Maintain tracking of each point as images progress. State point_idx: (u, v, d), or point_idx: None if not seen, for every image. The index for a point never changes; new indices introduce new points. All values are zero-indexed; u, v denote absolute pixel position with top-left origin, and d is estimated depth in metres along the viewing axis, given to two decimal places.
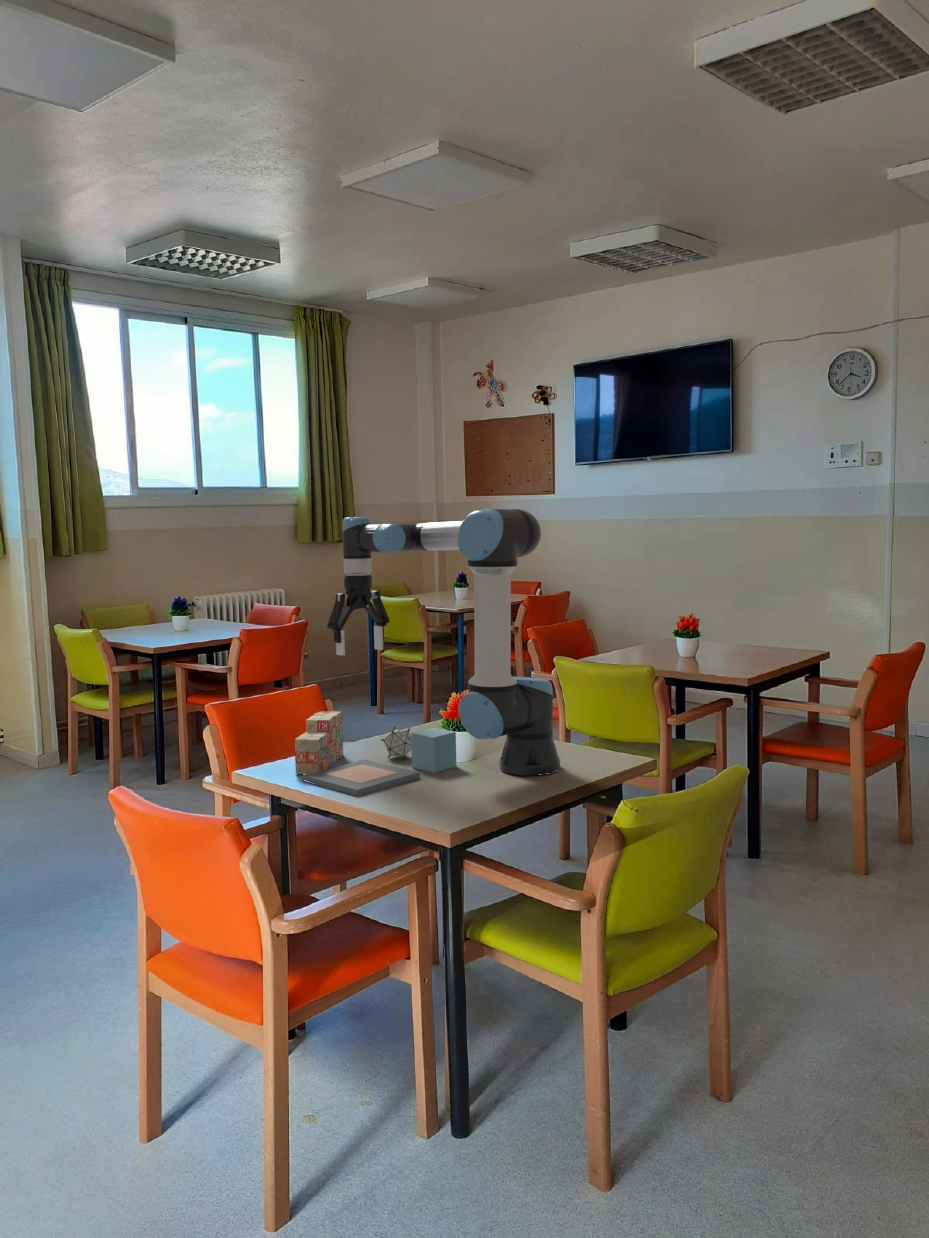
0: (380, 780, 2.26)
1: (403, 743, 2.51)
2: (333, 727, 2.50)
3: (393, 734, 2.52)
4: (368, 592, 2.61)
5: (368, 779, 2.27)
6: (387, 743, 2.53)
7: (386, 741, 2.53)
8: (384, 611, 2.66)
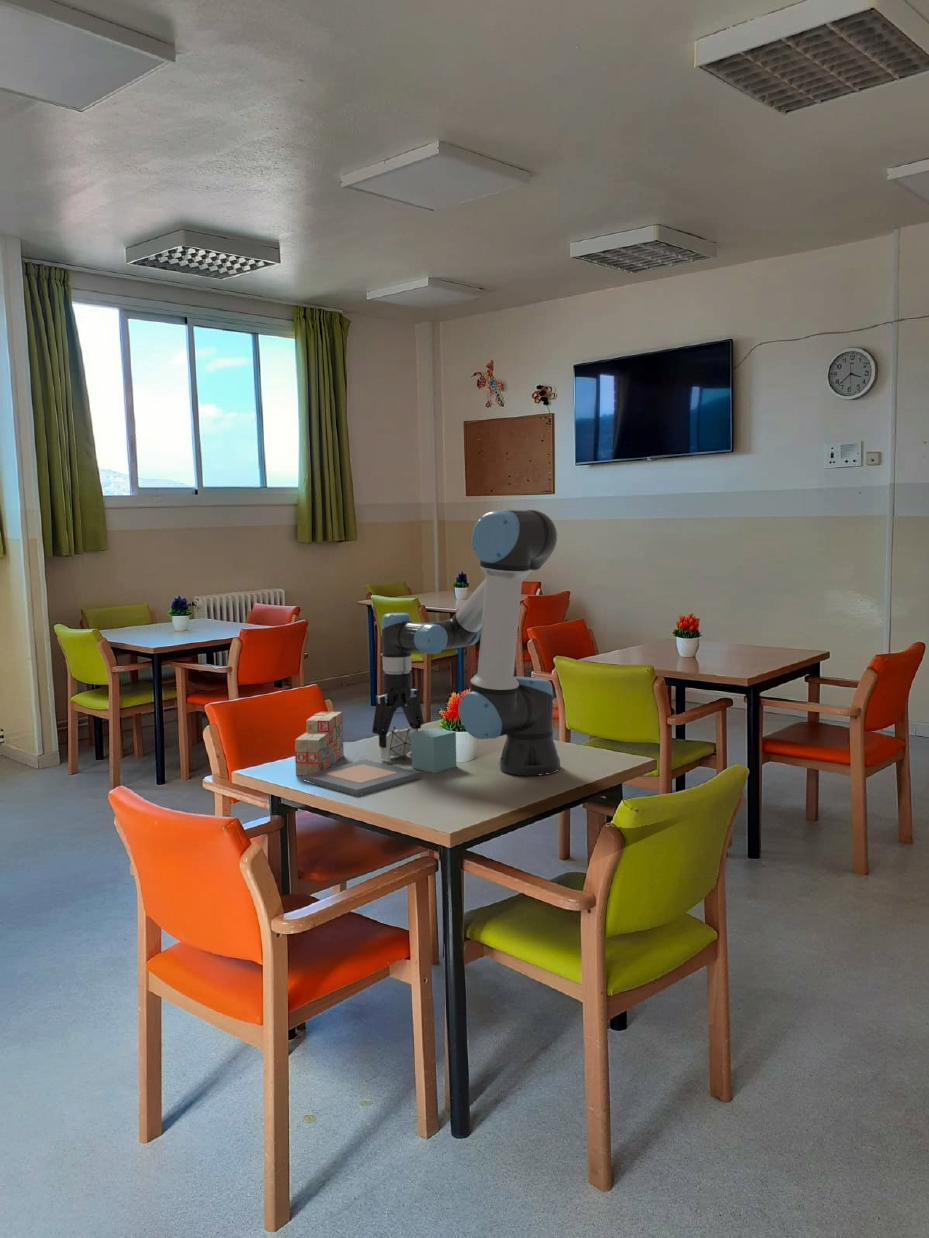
0: (380, 780, 2.26)
1: (403, 743, 2.51)
2: (333, 727, 2.50)
3: (393, 734, 2.52)
4: (408, 689, 2.54)
5: (368, 779, 2.27)
6: None
7: None
8: (420, 712, 2.58)
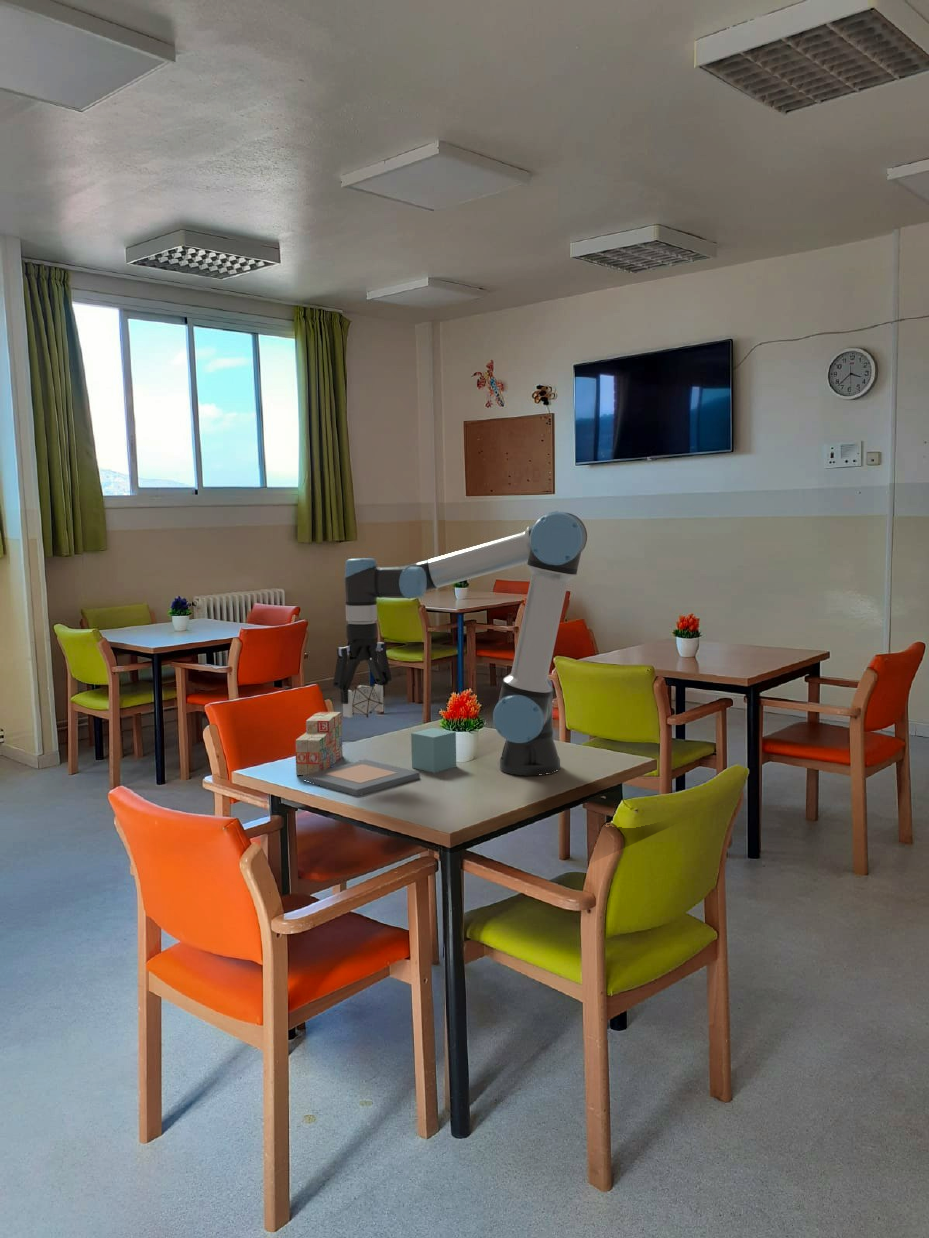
0: (380, 780, 2.26)
1: (366, 699, 2.31)
2: (333, 728, 2.50)
3: (356, 689, 2.32)
4: (373, 641, 2.34)
5: (368, 779, 2.27)
6: None
7: None
8: (387, 667, 2.38)
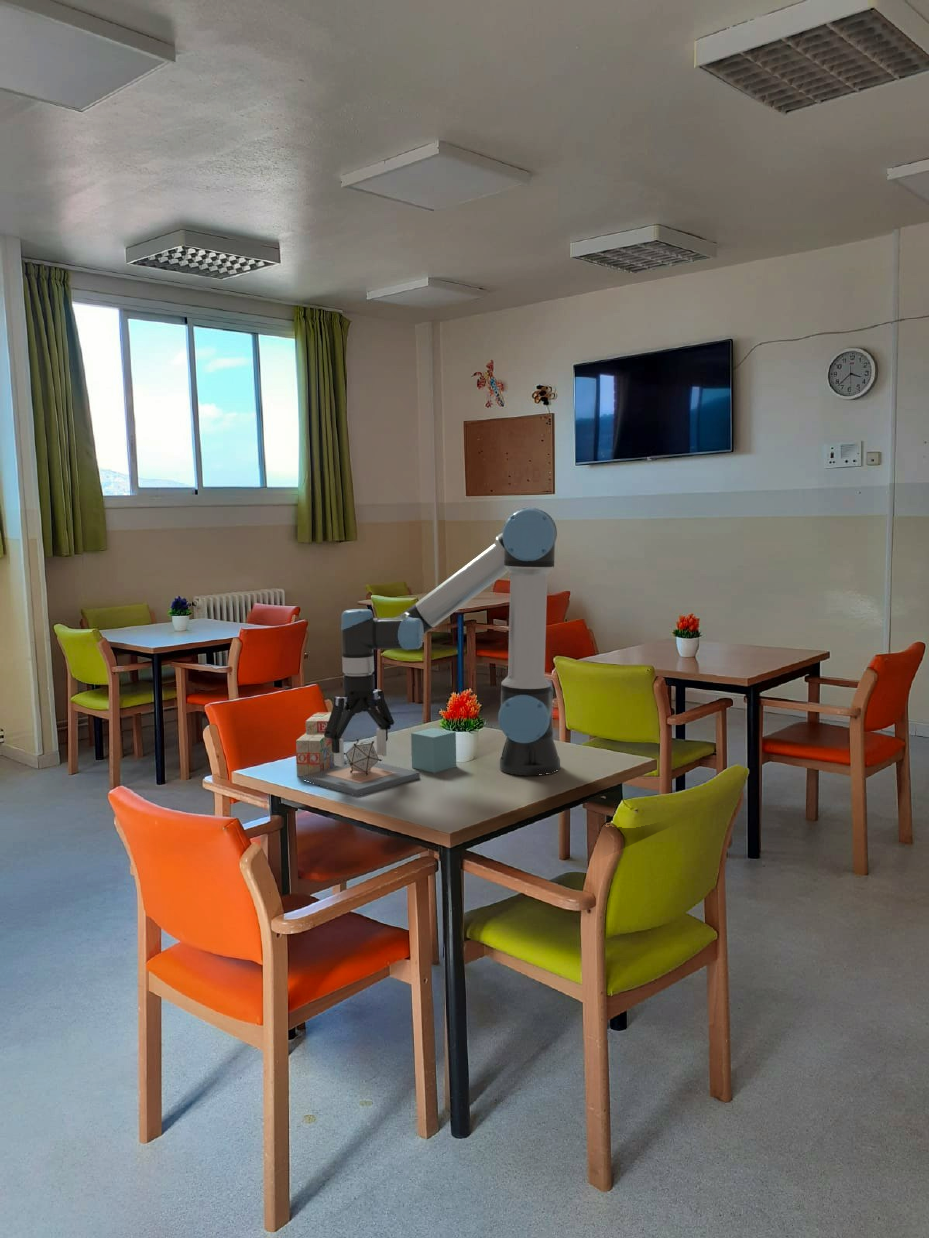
0: (380, 780, 2.26)
1: (366, 757, 2.30)
2: None
3: (355, 747, 2.31)
4: (370, 693, 2.32)
5: (368, 779, 2.27)
6: (349, 757, 2.31)
7: (348, 755, 2.32)
8: (388, 712, 2.37)
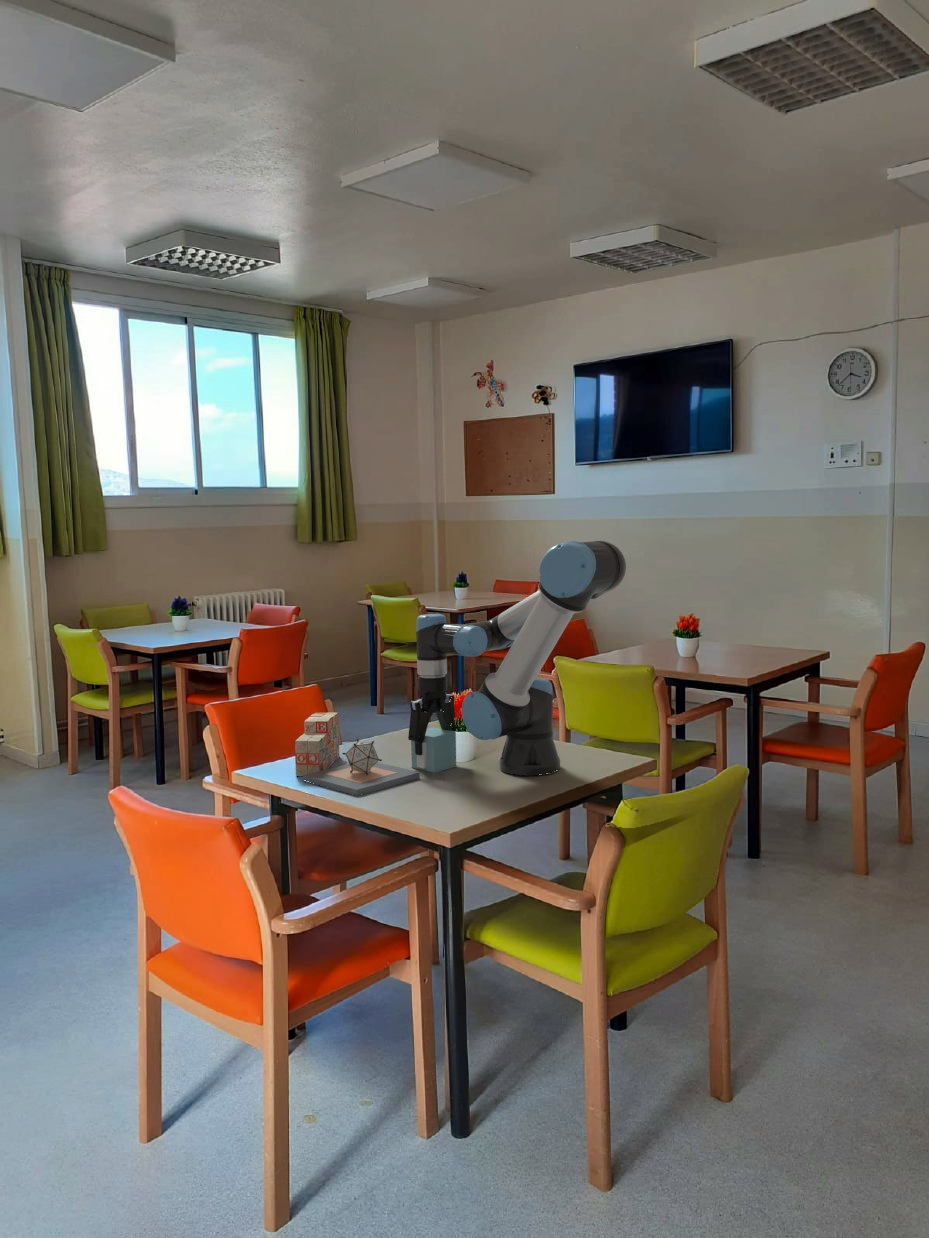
0: (380, 780, 2.26)
1: (366, 757, 2.30)
2: (331, 728, 2.49)
3: (355, 747, 2.31)
4: (443, 693, 2.44)
5: (368, 779, 2.27)
6: (349, 757, 2.31)
7: (348, 755, 2.32)
8: None
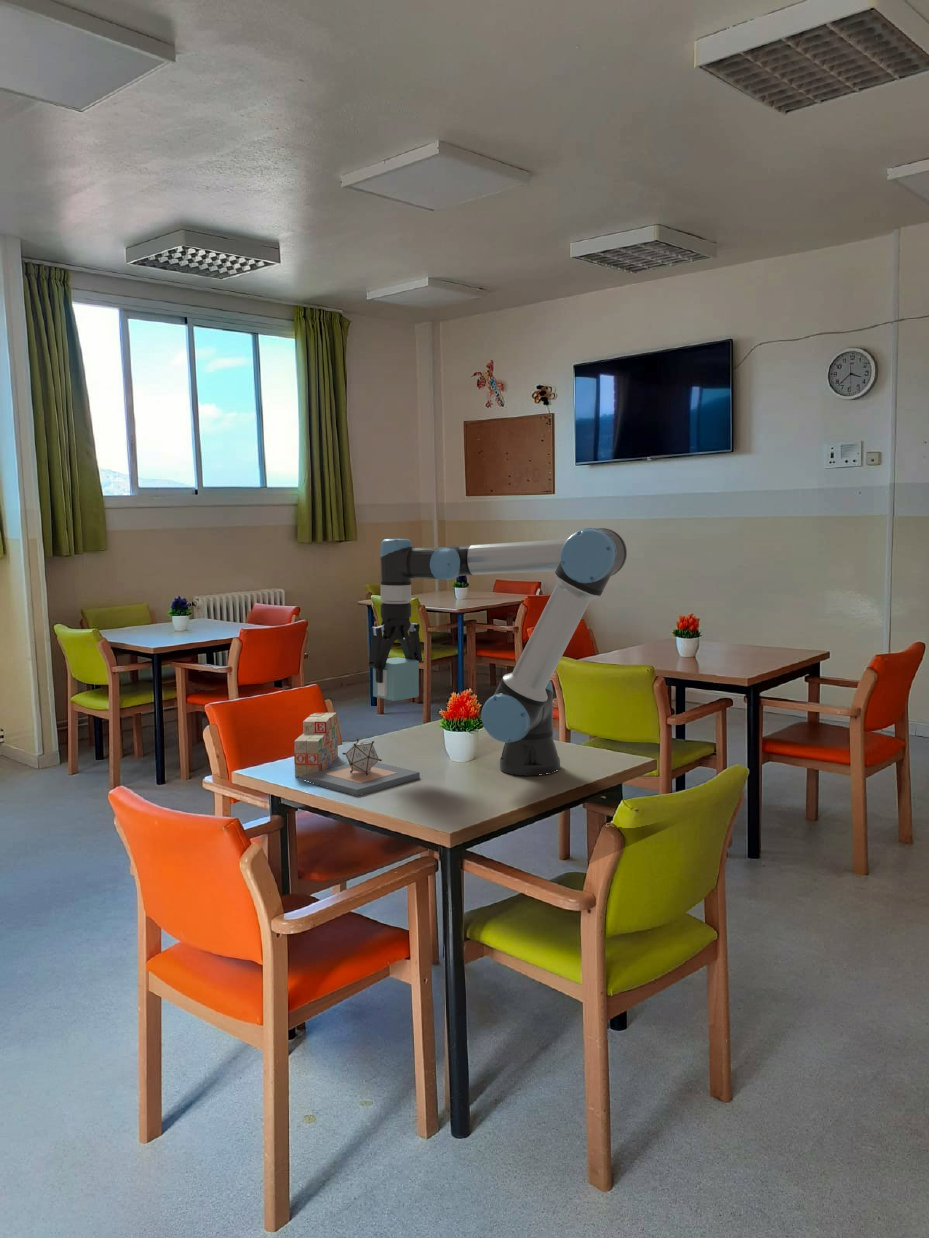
0: (380, 780, 2.26)
1: (366, 757, 2.30)
2: (329, 728, 2.49)
3: (355, 747, 2.31)
4: (407, 621, 2.37)
5: (368, 779, 2.27)
6: (349, 757, 2.31)
7: (348, 755, 2.32)
8: (419, 648, 2.40)
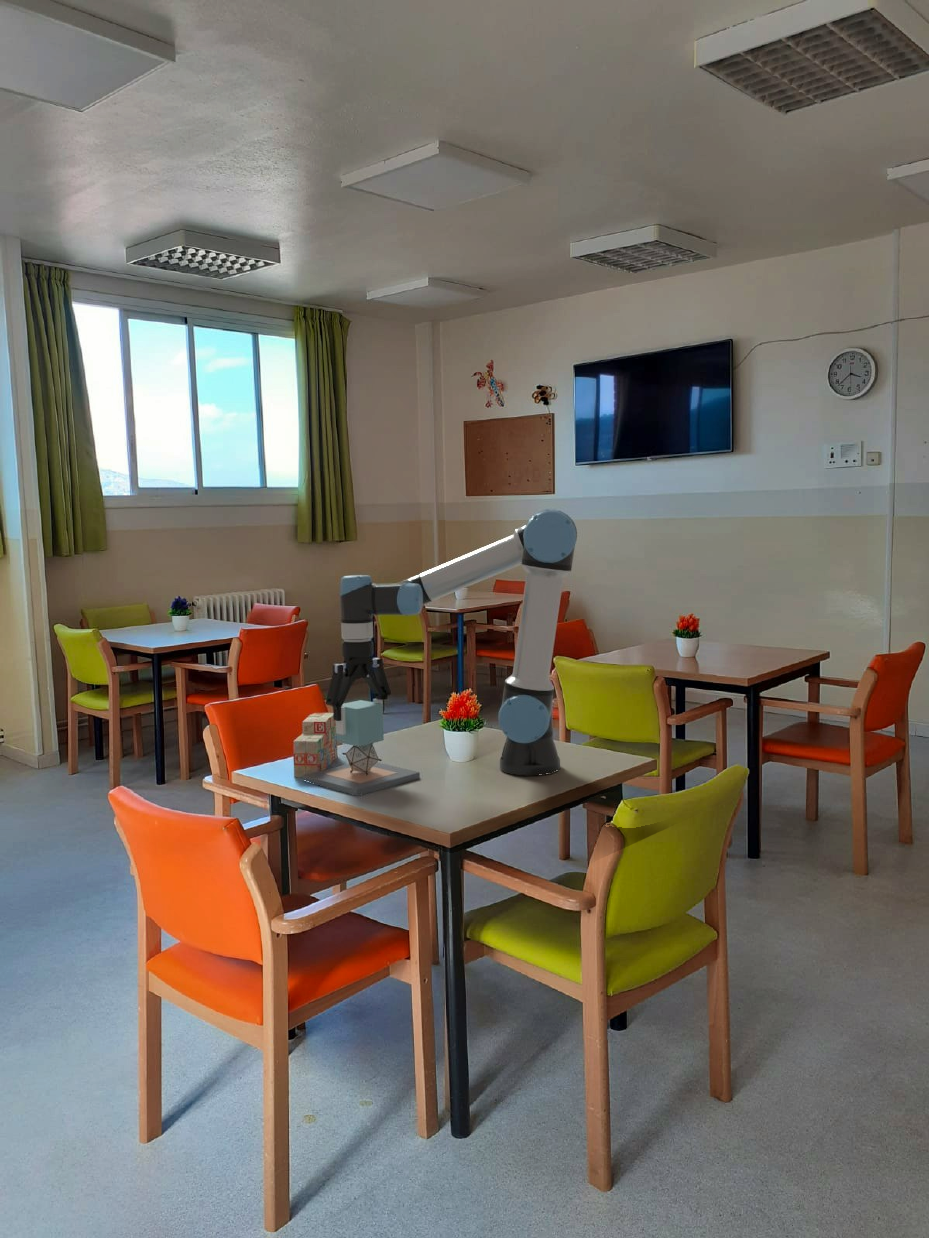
0: (380, 780, 2.26)
1: (366, 757, 2.30)
2: (329, 728, 2.49)
3: (355, 747, 2.31)
4: (369, 659, 2.32)
5: (368, 779, 2.27)
6: (349, 757, 2.31)
7: (348, 755, 2.32)
8: (385, 682, 2.36)
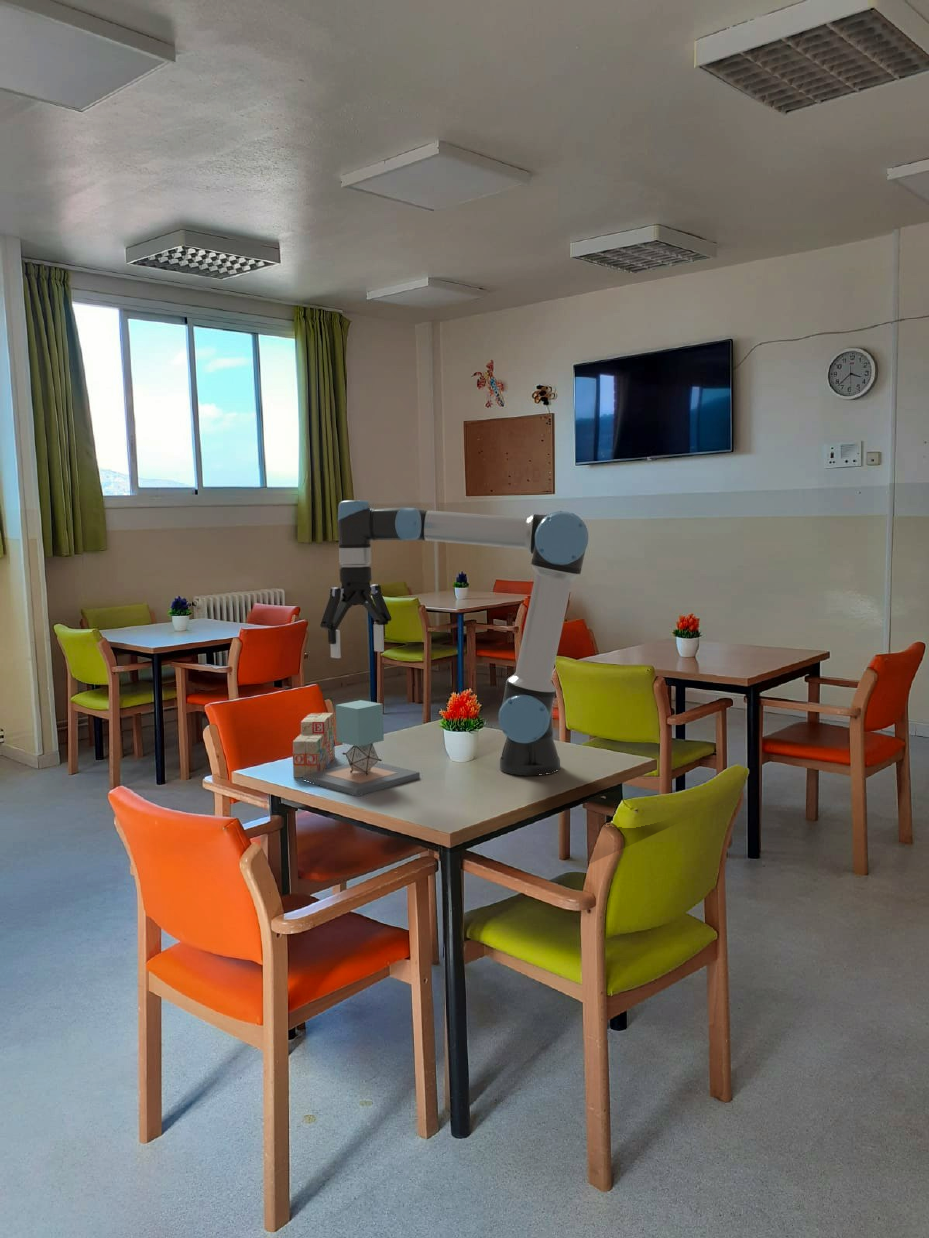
0: (380, 780, 2.26)
1: (366, 757, 2.30)
2: (327, 728, 2.49)
3: (355, 747, 2.31)
4: (367, 586, 2.30)
5: (368, 779, 2.27)
6: (349, 757, 2.31)
7: (348, 755, 2.32)
8: (385, 608, 2.34)
